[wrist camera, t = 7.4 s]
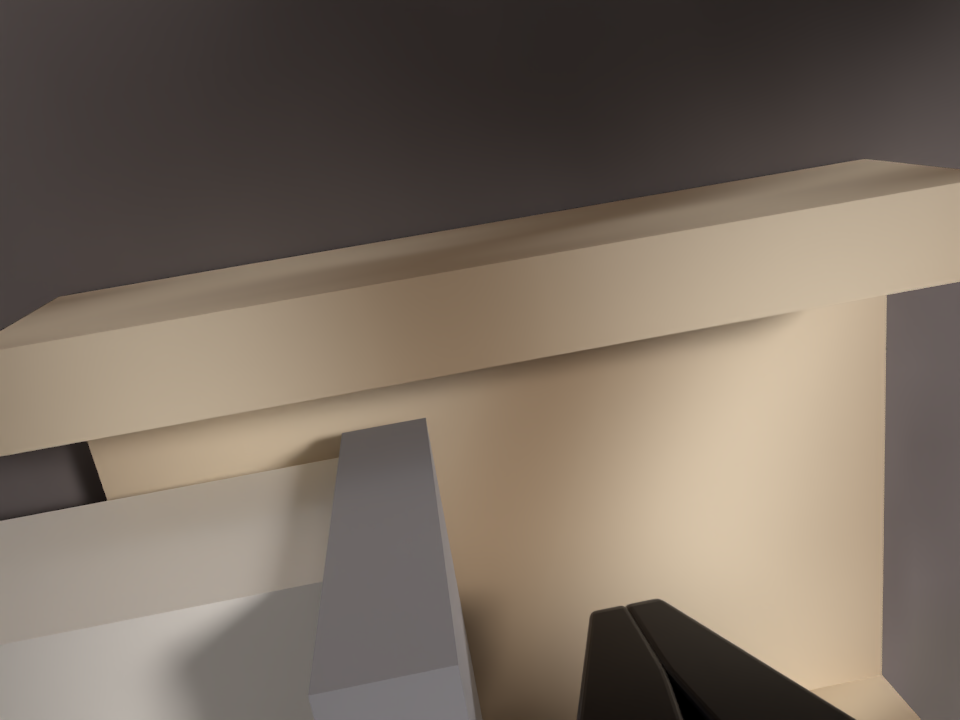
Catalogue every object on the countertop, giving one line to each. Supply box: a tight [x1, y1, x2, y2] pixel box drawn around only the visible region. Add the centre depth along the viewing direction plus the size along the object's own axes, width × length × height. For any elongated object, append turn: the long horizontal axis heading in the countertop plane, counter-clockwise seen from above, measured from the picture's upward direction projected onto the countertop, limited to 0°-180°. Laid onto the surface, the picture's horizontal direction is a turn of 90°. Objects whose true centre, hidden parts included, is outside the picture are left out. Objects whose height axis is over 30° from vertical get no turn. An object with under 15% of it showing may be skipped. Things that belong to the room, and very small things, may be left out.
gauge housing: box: [0, 159, 960, 720], centre depth 10 cm, size 10×9×2 cm
